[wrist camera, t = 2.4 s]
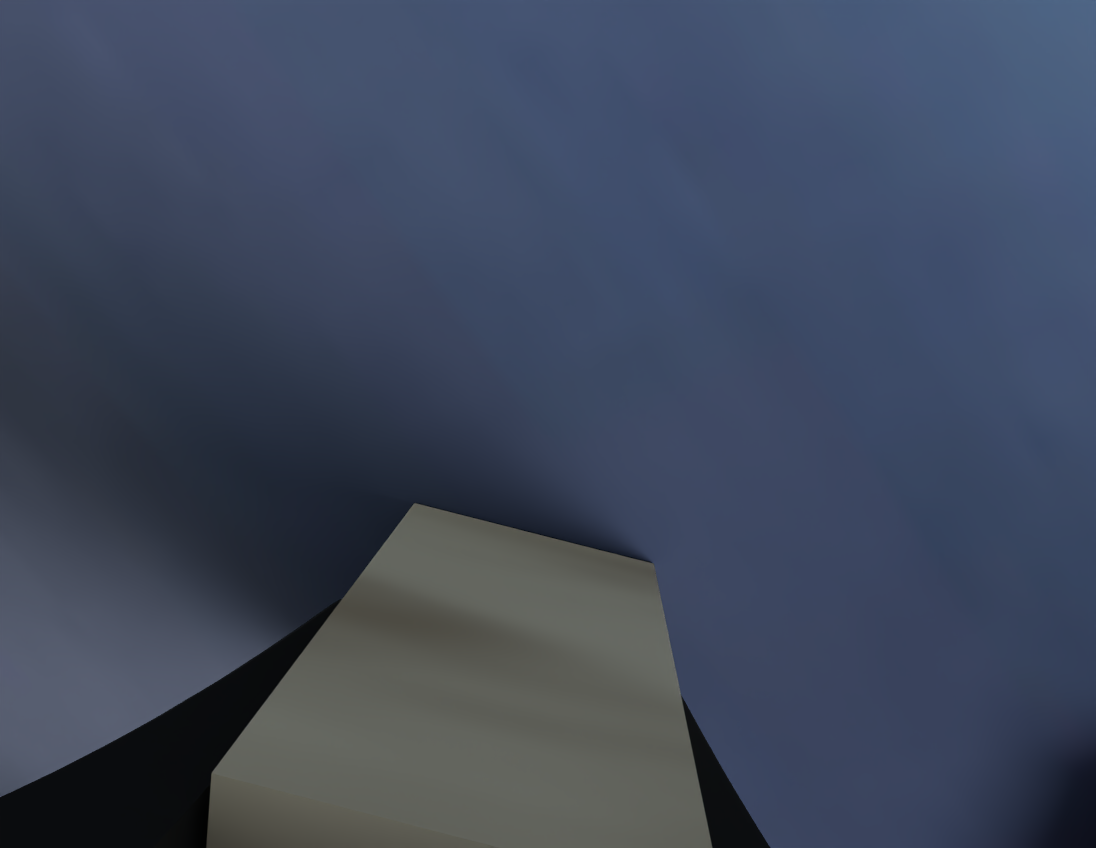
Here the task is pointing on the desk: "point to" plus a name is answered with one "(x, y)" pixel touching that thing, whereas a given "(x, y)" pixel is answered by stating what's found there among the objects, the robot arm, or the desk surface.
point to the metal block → (473, 707)
